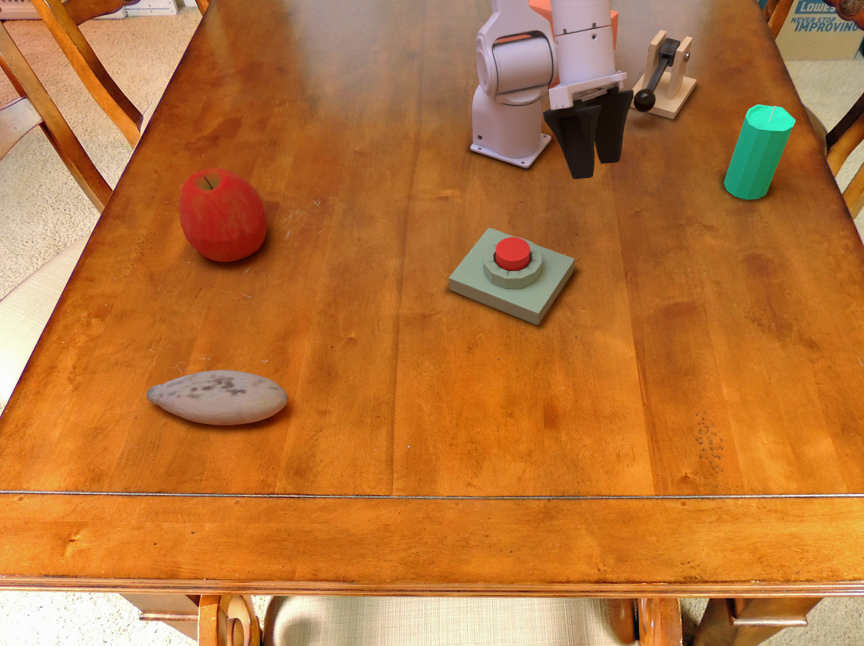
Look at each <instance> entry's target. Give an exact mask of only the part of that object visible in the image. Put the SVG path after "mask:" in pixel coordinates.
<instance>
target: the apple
mask: <svg viewBox="0 0 864 646" xmlns="http://www.w3.org/2000/svg"><path fill="white" fill-rule="evenodd" d="M181 187H182V188H181V190H180V194H179V200H178V216H179V223H180V227H181V229H182V231H183V235H184V237H185V239H186V240H187V242H188V243H189V244H190V245H191V246H192V248H194V249H195V250H196V251H197V252H198V253H199V254H200V255H201V256H202V257H205V258H206V259H208V260H211V261H213V262H218V263H229V262H237V261H239V260H242V259H245V258H247V257H250V256H251V255H253V254H254V253H255V252H257V251H259V250H260V248H261V246H262V245H263V243H264V241H265V238H266V235H267V231H268V229H267V221H268V220H267V214H266V210H265V208H264V203H263V201H262V198H261V197H260V196H259V194H258V193H257V191H256V189H255V188H254V186H253V185H251V184H250V183H249V182H248V180H245V178H243V177H241V176H240V175H238V174H237V173H235V172H233V171H231V170H227V169H224V168H222V167H221V168H218V167H215V168H211V167H210V168H208V167H207V168H205V169H202V170H199V171H197V172H195V173H193V174H191V175H190V176H189V177H188V178H187V179H186V180H185V181H184V182H183V185H182V186H181Z"/></svg>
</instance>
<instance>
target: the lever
mask: <svg viewBox="0 0 864 646" xmlns="http://www.w3.org/2000/svg"><path fill="white" fill-rule="evenodd" d="M680 45H681V40H678V39H674V38H670V37H666V38H665V41H664V43H663V45H662V47H661V49H660V51H659V57H658V65H657V67H656V69H655V71H654V73H653V75H652V77H651V79H650V81H649V83H648V85H647V87H646V89H641V90H639V91H638V92H637V93H636V94H635V96H634V99H633V104H634V107H635V108H636V109H635V108H634V109H635V110H637V112H640V113H649V112H648V111H650V110H651V109H652V108H653V107H654V105H655V103H656V96H655V94H654V91H655V89H656V87H657V85H658V83H659V81H660V79H661V77H662V75H663V73H664V71H666V70H667V68H673V63H674V59H675V54H676V50H677V49H678V47H679V46H680Z"/></svg>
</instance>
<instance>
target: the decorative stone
mask: <svg viewBox="0 0 864 646" xmlns="http://www.w3.org/2000/svg"><path fill="white" fill-rule="evenodd" d="M146 400H147V401H148V402H150V403H151V404H153V405H155V406H158V407H160V408H161V409H163V410H164V411H166V412H168V413H170V414H173V415H174V416H176V417H179V418H181V419H184V420H188V421H189V422H195V423H199V424H203V425H204V424H205V425H213V426H233V425H243V424H250V423H256V422H260V421H262V420H265V419H268V418H271V417H273V416H275V415H276V414H277V413H279V412H280V411H281V410H283V408H285V407H286V406H287V404H288V401H289V396H288V394H287V391H286V390H285V389H284V388H283V387H282V386H281V385H280V384H279V383H277V382H276V381H275V380H273V379H271V378H268V377H265V376H262V375H259V374H256V373H250V372H246V371H241V370H233V369H213V370H205V371H198V372H195V373H189V374H186V375H183V376H180V377H176V378H173V379H172V380H168V381H165V382H164V383H160V384H159V383H158V384H156V385H154V386H152V387H151V386H150V388H149V389H148V390H147V391H146Z"/></svg>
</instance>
